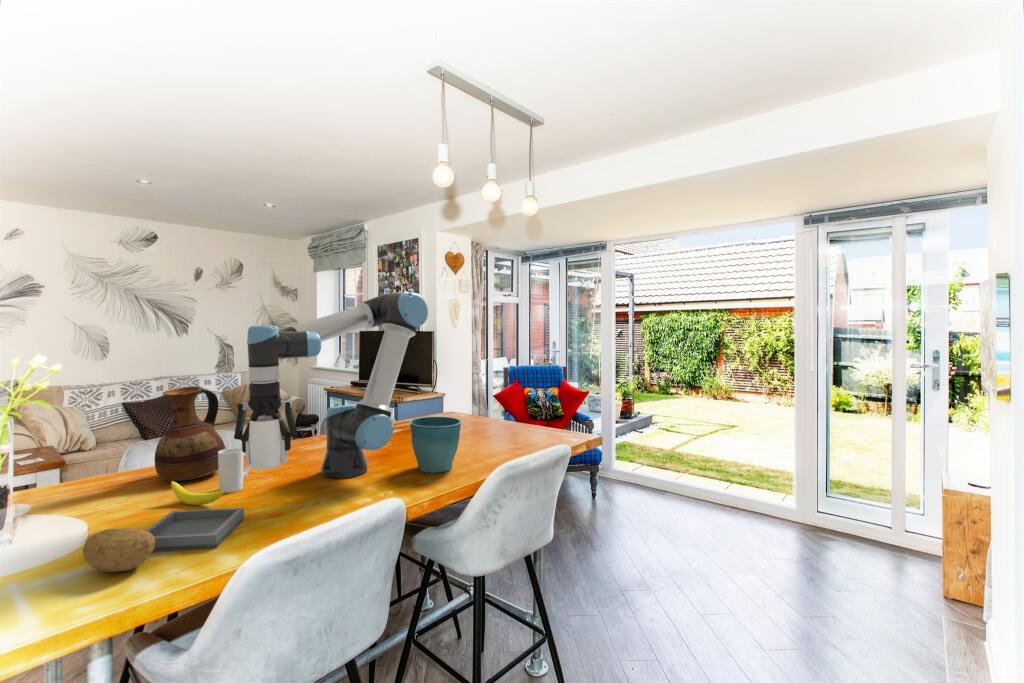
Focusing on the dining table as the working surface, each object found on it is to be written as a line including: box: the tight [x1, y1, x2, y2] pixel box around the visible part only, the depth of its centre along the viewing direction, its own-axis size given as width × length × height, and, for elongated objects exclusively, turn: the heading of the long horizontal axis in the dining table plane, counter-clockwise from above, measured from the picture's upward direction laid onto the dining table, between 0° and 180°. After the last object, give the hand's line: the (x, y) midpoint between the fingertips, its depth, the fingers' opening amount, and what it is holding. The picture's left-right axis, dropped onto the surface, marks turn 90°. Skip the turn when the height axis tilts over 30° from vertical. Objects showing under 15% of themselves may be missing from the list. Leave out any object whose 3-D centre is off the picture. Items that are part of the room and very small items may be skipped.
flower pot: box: [409, 416, 462, 474], centre depth 175 cm, size 18×18×17 cm
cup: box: [248, 415, 284, 471], centre depth 137 cm, size 8×8×14 cm
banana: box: [169, 480, 226, 506], centre depth 138 cm, size 3×19×6 cm, turn 75°
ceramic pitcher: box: [154, 385, 227, 482], centre depth 164 cm, size 20×20×30 cm
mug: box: [218, 447, 251, 494], centre depth 152 cm, size 10×7×12 cm, turn 155°
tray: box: [144, 507, 245, 553], centre depth 119 cm, size 17×17×3 cm
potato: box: [82, 527, 155, 573], centre depth 102 cm, size 10×14×8 cm
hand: (267, 462), depth 137 cm, fingers closed on cup, 8 cm apart
